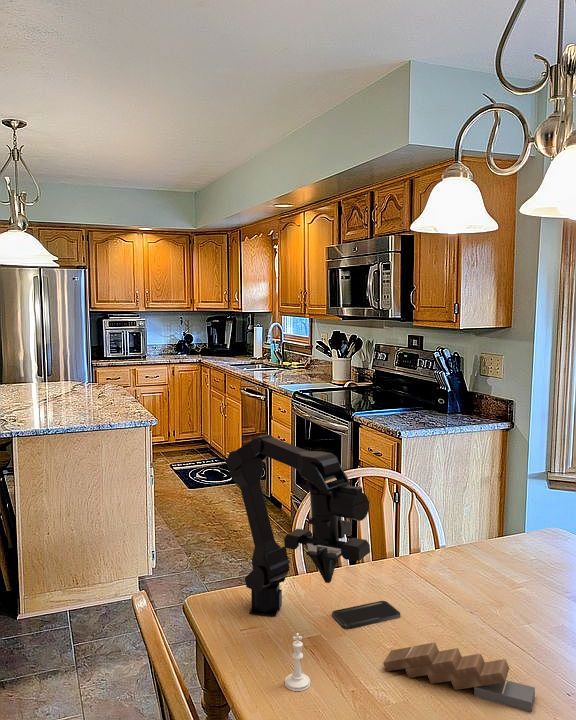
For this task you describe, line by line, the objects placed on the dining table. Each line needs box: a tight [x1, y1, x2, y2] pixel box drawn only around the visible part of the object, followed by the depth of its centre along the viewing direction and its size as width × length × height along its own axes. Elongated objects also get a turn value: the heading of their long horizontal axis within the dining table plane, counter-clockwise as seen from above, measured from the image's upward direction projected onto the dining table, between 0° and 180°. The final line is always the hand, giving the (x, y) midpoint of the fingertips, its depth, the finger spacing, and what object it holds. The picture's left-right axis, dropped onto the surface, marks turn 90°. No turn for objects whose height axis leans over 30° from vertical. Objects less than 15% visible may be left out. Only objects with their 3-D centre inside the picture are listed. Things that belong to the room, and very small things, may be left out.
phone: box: [331, 600, 401, 630], centre depth 145 cm, size 8×1×15 cm
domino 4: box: [450, 658, 510, 691], centre depth 117 cm, size 2×5×10 cm
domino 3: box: [426, 653, 486, 685], centre depth 119 cm, size 2×5×10 cm
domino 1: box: [382, 641, 439, 672], centre depth 123 cm, size 2×5×10 cm
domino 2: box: [404, 647, 463, 679], centre depth 121 cm, size 2×5×10 cm
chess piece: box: [284, 632, 311, 692], centre depth 119 cm, size 5×5×10 cm
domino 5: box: [473, 679, 536, 713], centre depth 115 cm, size 2×5×10 cm
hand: (328, 582), depth 135 cm, fingers closed
